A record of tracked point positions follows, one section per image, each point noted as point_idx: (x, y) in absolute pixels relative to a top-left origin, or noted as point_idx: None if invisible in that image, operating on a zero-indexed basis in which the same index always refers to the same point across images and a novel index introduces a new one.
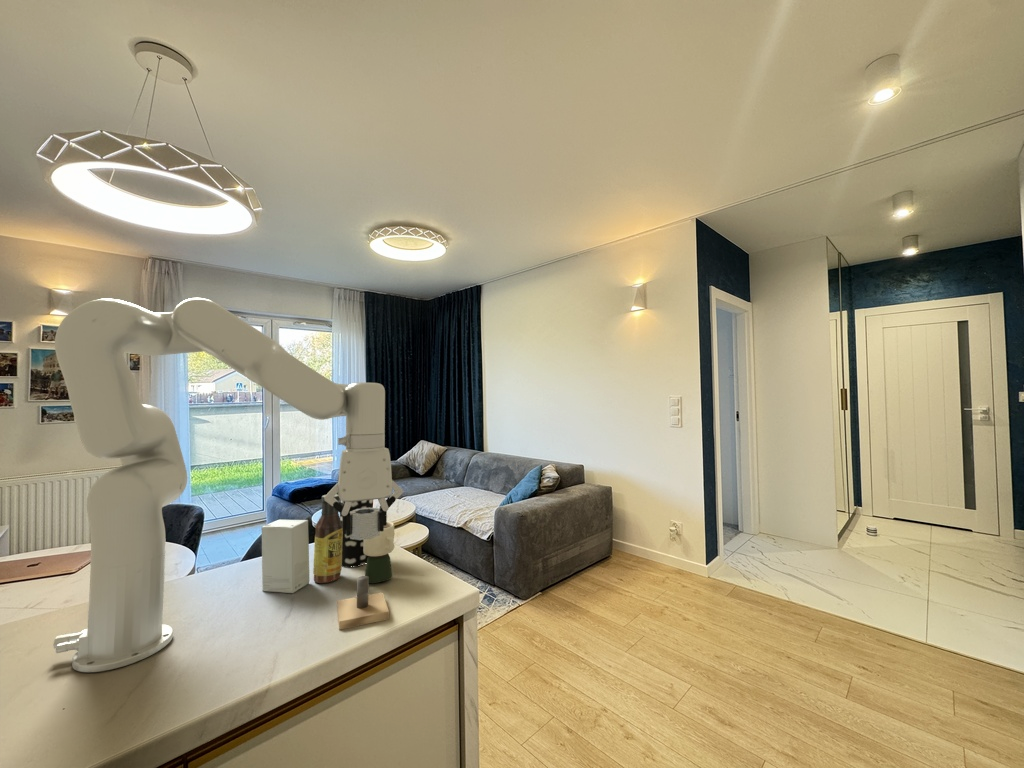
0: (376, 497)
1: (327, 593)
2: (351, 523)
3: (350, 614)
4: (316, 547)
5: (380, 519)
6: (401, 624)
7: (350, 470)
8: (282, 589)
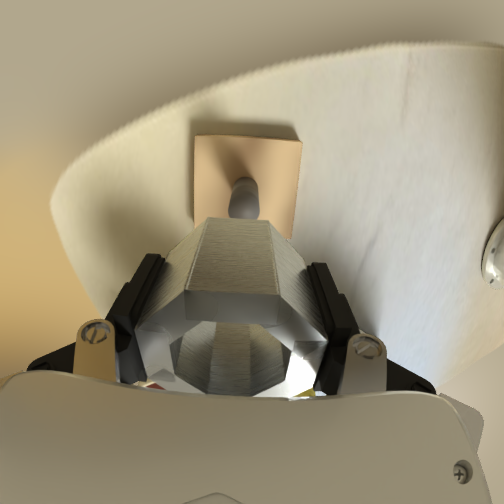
0: (115, 389)
1: None
2: (313, 299)
3: (276, 161)
4: (314, 394)
5: (145, 289)
6: (177, 102)
7: None
8: (360, 331)
